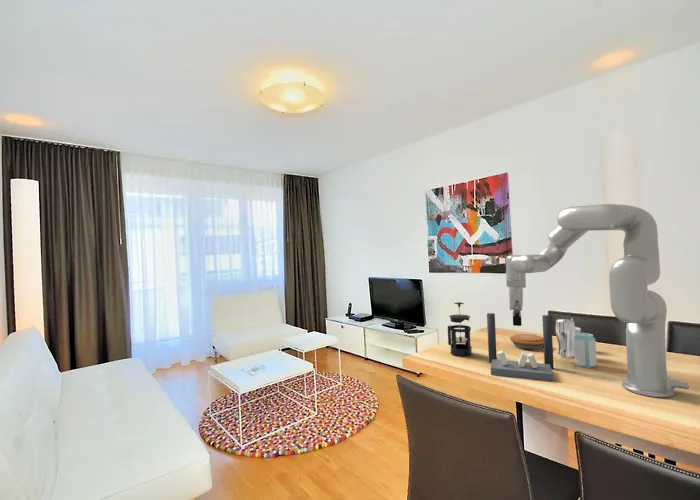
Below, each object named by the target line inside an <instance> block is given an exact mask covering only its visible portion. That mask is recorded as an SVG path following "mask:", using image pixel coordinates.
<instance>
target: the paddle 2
mask: <svg viewBox="0 0 700 500" xmlns="http://www.w3.org/2000/svg"><path fill="white" fill-rule="evenodd" d="M526 353H527V352H526ZM527 356H528V357H527V359H528V362H530V363H531V366H532V368H537V367H538V365H537V363H538V362H537V360H536V358H535V356H534V353H533V352H528V353H527Z"/></svg>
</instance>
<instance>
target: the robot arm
mask: <svg viewBox="0 0 700 500" xmlns="http://www.w3.org/2000/svg"><path fill="white" fill-rule="evenodd" d="M557 224H558V225H556V226H555V227H554V228H553V229H552V230H550V232H549V233H548V235H547V237H548V240H549V245H548V246H547V247H546V248H545V249H544V250H542V251H541V252H540V253H538V254H525V255H522V254H521V255H520V254H519V255H518V254H516V255H515V254H511V255H507V256H506V258H505V275H506V276H505V277H506V279H505V280H506V288H508V290H509V291H508V297H509V299H508V301H509V304H508V305H509V306H508V307H509V311H512V325H513V327H515V326H517V327H521V326H522V324H523V323H522V315H521V314H522V312H521V311H523V305H524V298H523V297H524V288H526V287H527V286H526V285H527V281H526V279H527V276H526V274H536V273H543V272H546V271H548V270H550V269H551V268H553V267H554V266H555V265H557V264H558V263H559V262H560V261H561V260H562V259H563V257H564V256H565V254H566V253H567V251H568V249H569V248H570V247H571V246H573V245H574V243H576V241H579V239H580V238H582V236H584V235H585V234H586V233H588V232H589V231H590V232H591V231H622V232H624V239H623V243H622V244H623V246H622V247H623V257H621V258H619V259H618V260H616V261H614V263H613V264H612V265H611V267H610V270H609V273H608V274H609V275H608V276H609V280H608V281H609V299H610V301H609V303H610V308H611V311H612V313H613V315H614V316H615V317H616V318H617V319H618V320H619V321H621V322H623V323H625V324H626V325H625V345H626V346H625V347H626V363H627V364H626V367H627V379H624V380H622V381H621V385H622V387H623V388H624V389H625V390H627V391H629V392H632V393H636V394H639V395H642V396H646V397H653V398H672V397H673V396H675V392H676V391H675V389H676V388H677V389H683V390H689V388H690V386H689V383H688V382H684V381H680V380H679V379H671V378H669V377H668V372H667V371H668V369H667V351H666V349H667V348H666V343H667V342H666V323H667V315H668V314H667V309H668V308H667V302H666V301H665V299H664V298H663V297H662V296H661V295H660V294H659V293H657V292H656V291H654V290H650V289H649V290H648V286H650V285H653V284H654V283H656V282H657V281H658V280H659V279H660V276H661V267H660V266H661V265H660V251H659V250H660V249H659V240H658V239H659V235H658V225H657V222H656V220H655V218H654V216H653V215H652V214H651V213H649V212H648V211H647V210H645V209H642V207H641V208H640V207H637V206H634V205H629V204H628V205H627V204H616V203H603V204H592V205H591V204H589V205H577V206H569V207H568V206H567V207H566V208H564V209H563V210H561V211H560V212H559V214H558V216H557Z"/></svg>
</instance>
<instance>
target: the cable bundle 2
mask: <svg viewBox="0 0 700 500" xmlns="http://www.w3.org/2000/svg"><path fill="white" fill-rule="evenodd" d="M541 316H542V319H541V320H542V336H543V337H542V338H543V341H544V345H543V356H544V357H543V359H544V360H543V362H544V363H543V364H550V366H551V370H554V368H555V367H554V347H553V346H554V343H553V325H552V324H553V322H552V315H549V314H543V315H541Z"/></svg>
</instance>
